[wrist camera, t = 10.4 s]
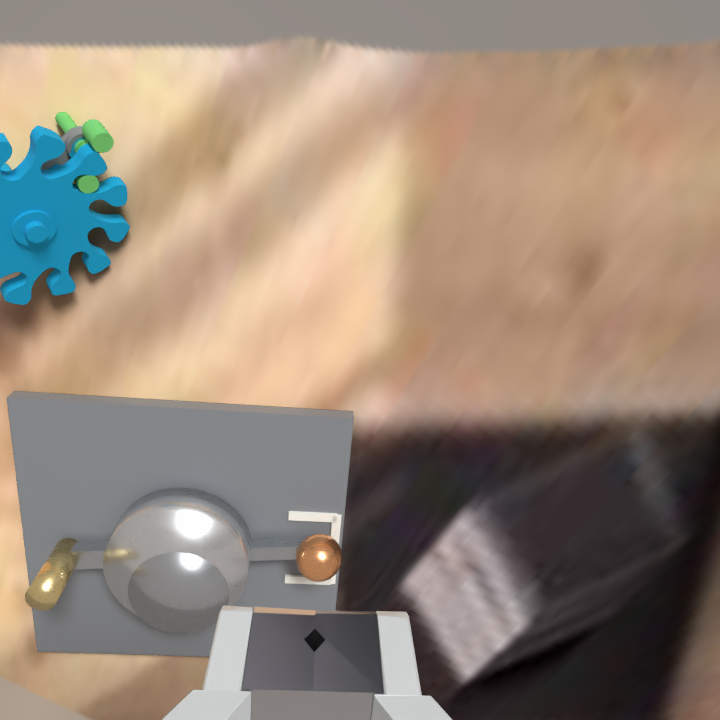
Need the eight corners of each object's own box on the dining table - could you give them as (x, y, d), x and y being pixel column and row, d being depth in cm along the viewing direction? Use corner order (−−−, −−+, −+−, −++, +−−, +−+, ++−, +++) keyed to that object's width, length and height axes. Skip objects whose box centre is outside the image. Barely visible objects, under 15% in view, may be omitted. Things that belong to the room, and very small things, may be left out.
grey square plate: (352, 411, 41) (353, 419, 40) (330, 649, 48) (330, 662, 47) (14, 390, 39) (5, 399, 38) (43, 640, 47) (36, 653, 46)
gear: (48, 335, 37) (-135, 261, 28) (15, 272, 39) (-163, 186, 31) (185, 200, 36) (39, 78, 27) (140, 145, 38) (-5, 18, 30)
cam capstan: (43, 491, 41) (9, 536, 36) (340, 482, 41) (342, 525, 37) (68, 609, 44) (41, 662, 40) (342, 599, 45) (344, 650, 41)
